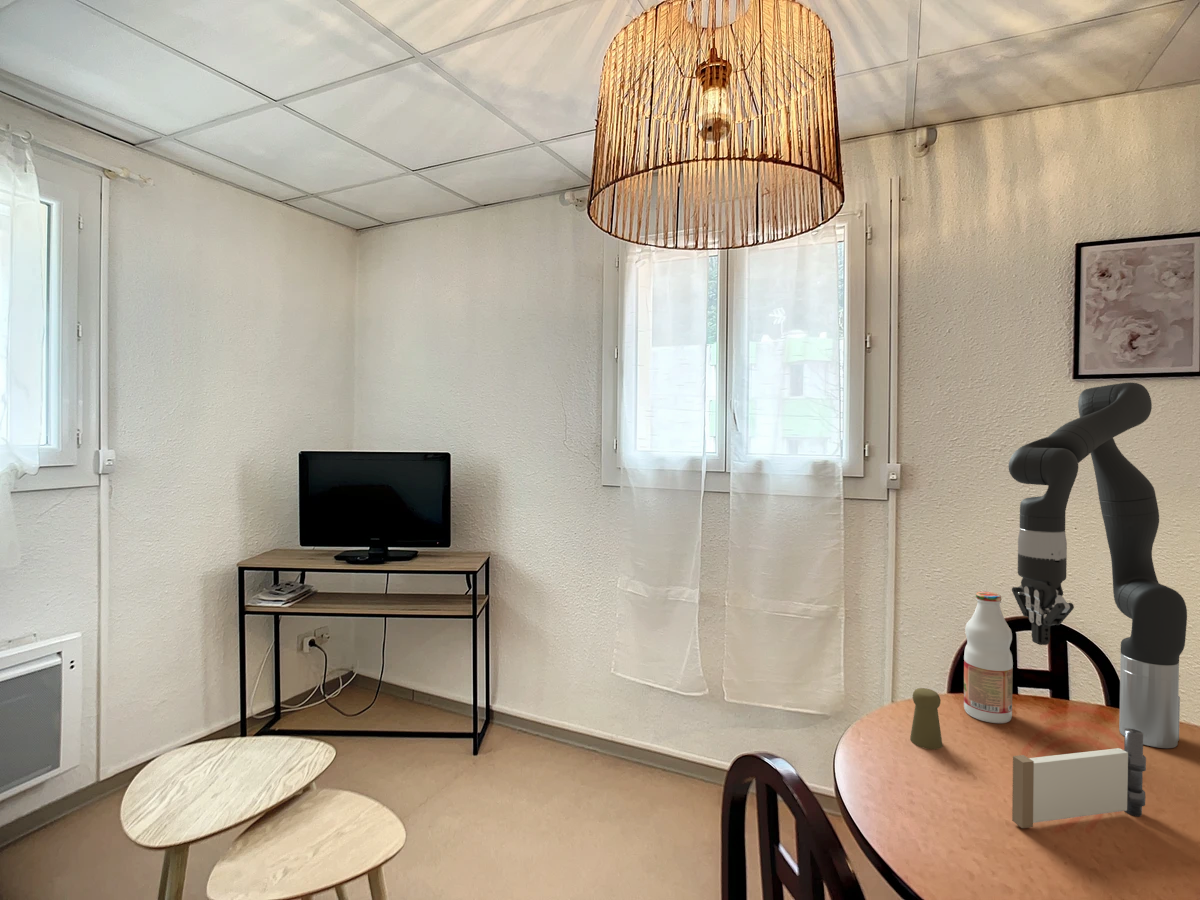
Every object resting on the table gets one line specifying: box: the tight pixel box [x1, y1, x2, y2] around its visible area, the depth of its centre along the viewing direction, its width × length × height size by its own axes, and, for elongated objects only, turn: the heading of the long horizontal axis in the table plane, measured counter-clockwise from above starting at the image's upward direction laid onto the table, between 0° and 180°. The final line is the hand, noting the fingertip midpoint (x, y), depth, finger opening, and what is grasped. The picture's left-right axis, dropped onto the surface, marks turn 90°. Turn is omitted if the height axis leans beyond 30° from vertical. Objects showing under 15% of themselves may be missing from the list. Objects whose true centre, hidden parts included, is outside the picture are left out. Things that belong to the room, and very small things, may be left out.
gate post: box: [1123, 729, 1147, 818], centre depth 105 cm, size 3×3×14 cm
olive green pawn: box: [909, 687, 943, 750], centre depth 130 cm, size 6×6×11 cm
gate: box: [1011, 747, 1128, 829], centre depth 103 cm, size 20×2×11 cm, turn 99°
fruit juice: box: [963, 591, 1014, 724], centre depth 141 cm, size 9×9×28 cm
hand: (1040, 643), depth 117 cm, fingers closed
